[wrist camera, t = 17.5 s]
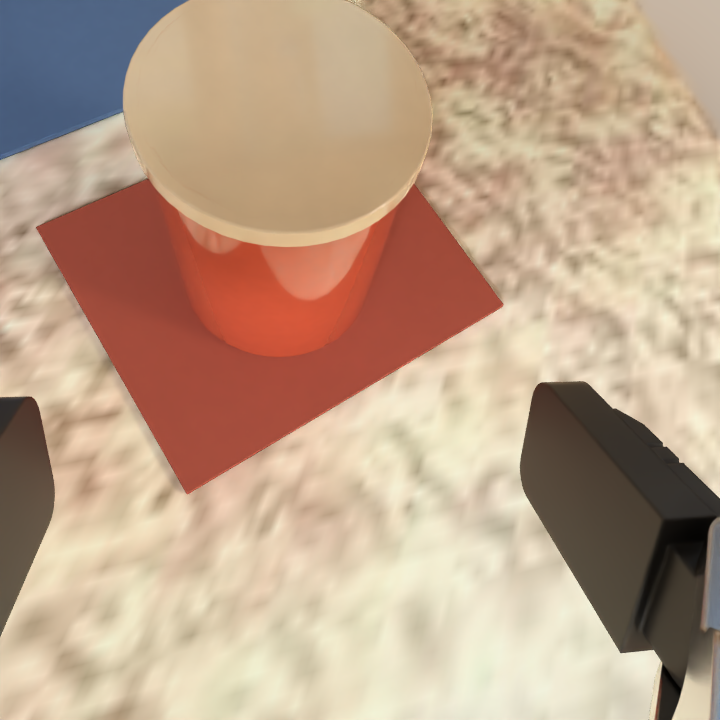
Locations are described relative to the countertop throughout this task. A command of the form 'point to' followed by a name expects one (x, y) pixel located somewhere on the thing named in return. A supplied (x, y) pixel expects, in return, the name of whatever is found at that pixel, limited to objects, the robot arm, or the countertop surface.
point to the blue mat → (66, 63)
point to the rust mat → (231, 365)
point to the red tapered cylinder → (277, 159)
